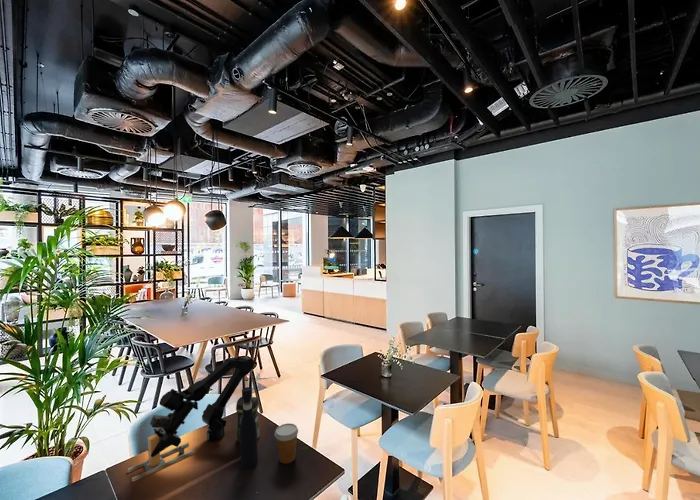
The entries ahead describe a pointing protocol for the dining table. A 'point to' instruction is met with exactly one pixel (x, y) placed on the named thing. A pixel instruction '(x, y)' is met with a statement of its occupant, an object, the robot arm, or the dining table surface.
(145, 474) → the rail board
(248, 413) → the wine bottle
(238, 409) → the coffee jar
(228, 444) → the dining table surface
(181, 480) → the dining table surface
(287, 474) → the dining table surface
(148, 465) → the tan slider block
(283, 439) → the disposable coffee cup
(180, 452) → the keeper hook
